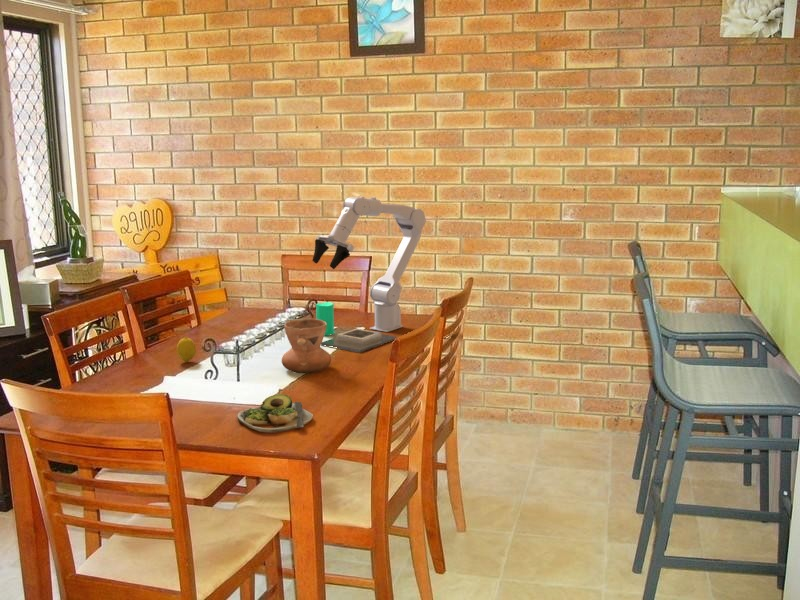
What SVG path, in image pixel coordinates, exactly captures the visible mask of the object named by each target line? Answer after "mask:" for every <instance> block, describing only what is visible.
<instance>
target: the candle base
mask: <svg viewBox="0 0 800 600" xmlns="http://www.w3.org/2000/svg"><path fill="white" fill-rule="evenodd" d="M395 338H397V336H396V335H389V334H382V332H381V331H375V330H374V331H373V330H370V329H369V330H367V329H362V328H353V329H351V330H347V331H344V332H342V333H339V334H336V337H334V338H331V339H328V340H324V341H322V343H321V345H326V346H333V347H337V348H340V349H339V350H342V349H343V350H344V351H347V350H348V351H349V352H355V353H359V354H361V353H364V352H367V351H368V350H372V349H375V348H377V347H376V346H378V347H380V346H379V345H381V344H383V345H385V344H384V343H386V342H389V341H391V340H392V342H394V341H395V340H394V339H395ZM397 339H398V338H397ZM393 340H394V341H393ZM389 343H390V342H389ZM386 344H387V343H386ZM321 345H320V346H321ZM326 346H325V347H326ZM381 346H382V345H381ZM374 347H375V348H374ZM337 348H336V349H337ZM371 348H372V349H371ZM343 350H342V351H343ZM366 350H367V351H366ZM348 351H347V352H348Z"/></svg>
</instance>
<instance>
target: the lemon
mask: <svg viewBox="0 0 800 600" xmlns="http://www.w3.org/2000/svg"><path fill="white" fill-rule="evenodd" d="M196 351H197V349H196V344H195V342H194V340H193V339H192V338H189V337H188V336H184V337H183V338H181V339H180V340H179V341H178V343H177V346H176V353H177V356H178V358H179V360H182V361H183V362H185V363H189V362H190V361H191V360H193V358H194V357H195V356H196Z"/></svg>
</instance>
